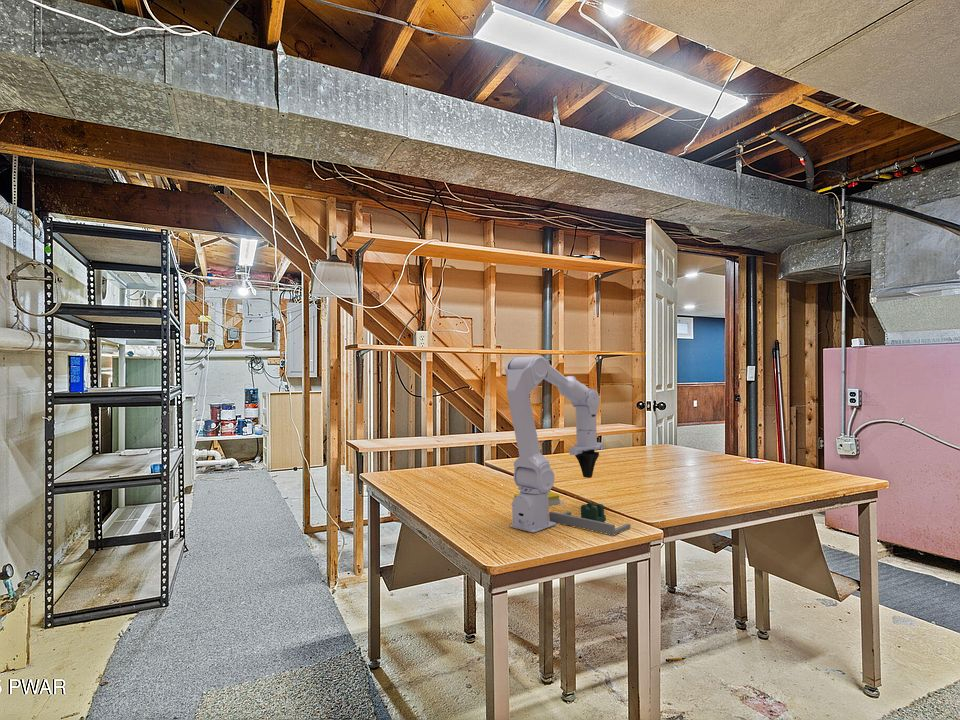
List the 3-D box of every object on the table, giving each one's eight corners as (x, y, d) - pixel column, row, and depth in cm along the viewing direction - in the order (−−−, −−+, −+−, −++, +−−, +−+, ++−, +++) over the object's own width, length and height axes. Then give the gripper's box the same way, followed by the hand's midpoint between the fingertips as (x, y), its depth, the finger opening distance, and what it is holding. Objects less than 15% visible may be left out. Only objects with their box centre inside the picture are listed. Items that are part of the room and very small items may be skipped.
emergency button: (508, 491, 156) (547, 485, 164) (508, 505, 156) (548, 498, 164) (525, 497, 148) (566, 490, 156) (526, 512, 148) (566, 504, 155)
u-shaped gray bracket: (612, 536, 123) (612, 525, 123) (549, 521, 136) (549, 512, 136) (630, 528, 129) (630, 518, 129) (567, 514, 142) (567, 505, 142)
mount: (589, 530, 129) (588, 510, 129) (574, 526, 132) (573, 507, 132) (610, 520, 137) (610, 501, 137) (596, 517, 140) (595, 499, 140)
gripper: (584, 433, 140) (585, 483, 139) (611, 428, 150) (613, 475, 150) (562, 431, 145) (564, 479, 144) (591, 427, 155) (592, 472, 154)
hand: (587, 477), depth 147 cm, fingers closed
